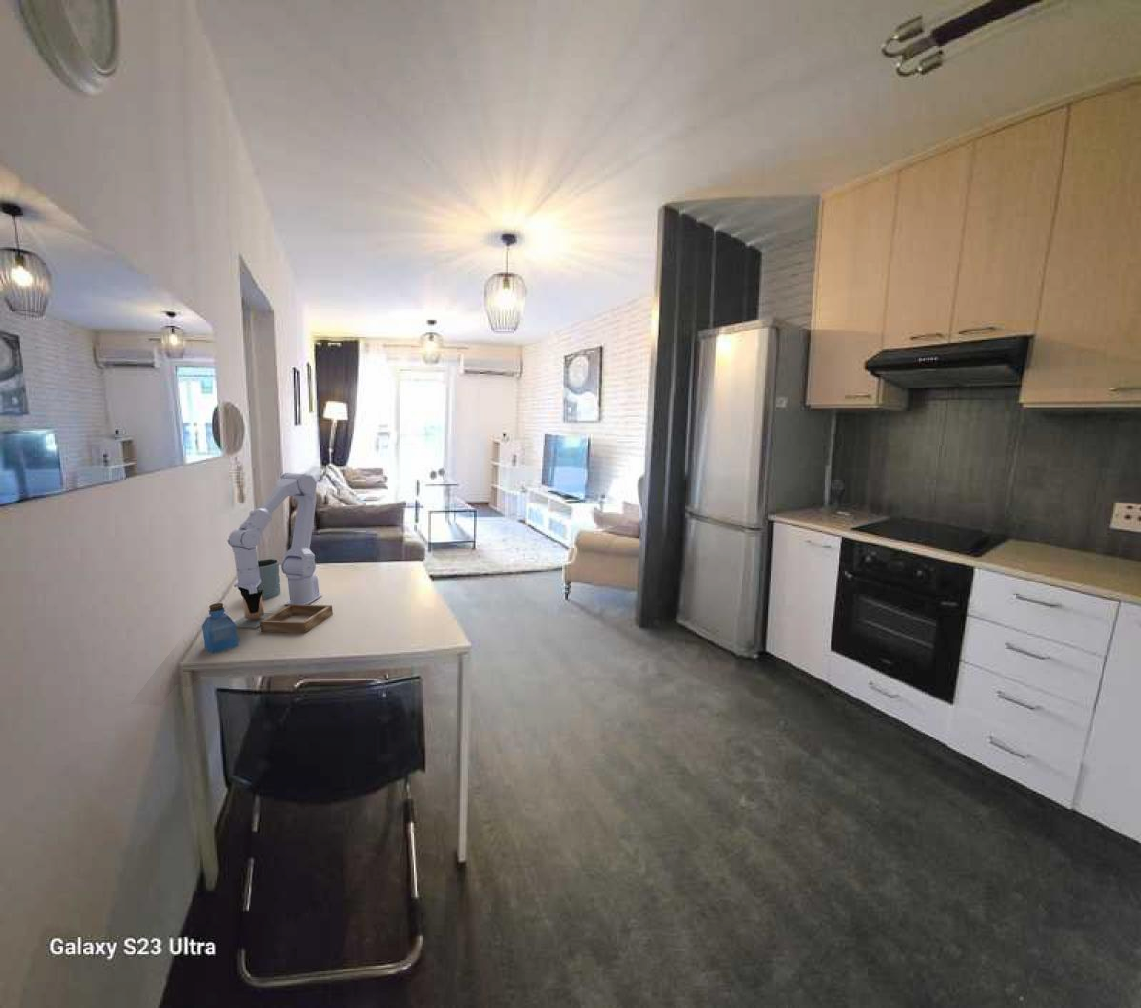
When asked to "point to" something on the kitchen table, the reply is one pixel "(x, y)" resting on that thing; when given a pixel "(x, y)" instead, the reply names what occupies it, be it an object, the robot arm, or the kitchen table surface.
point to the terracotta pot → (253, 615)
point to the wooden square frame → (277, 625)
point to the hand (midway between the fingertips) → (252, 610)
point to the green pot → (269, 578)
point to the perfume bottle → (219, 630)
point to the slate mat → (251, 622)
